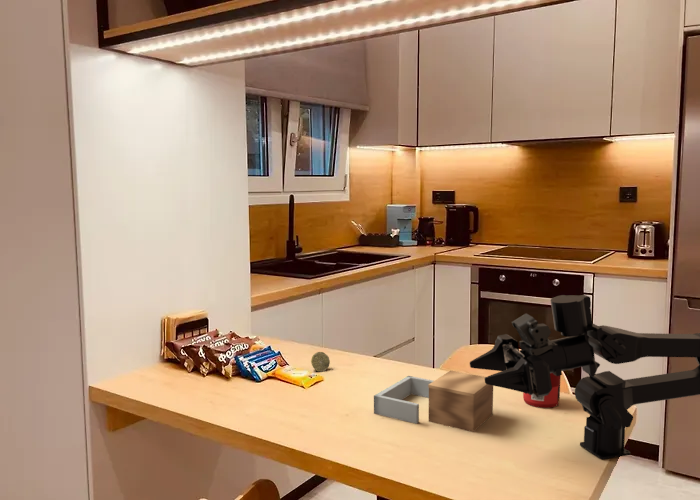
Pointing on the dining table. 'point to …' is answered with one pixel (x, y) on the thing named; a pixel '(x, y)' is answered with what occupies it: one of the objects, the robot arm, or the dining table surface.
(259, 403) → the dining table surface
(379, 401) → the bay
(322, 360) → the olive speckled ball
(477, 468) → the dining table surface
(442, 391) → the tea box
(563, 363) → the robot arm
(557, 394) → the canned food
